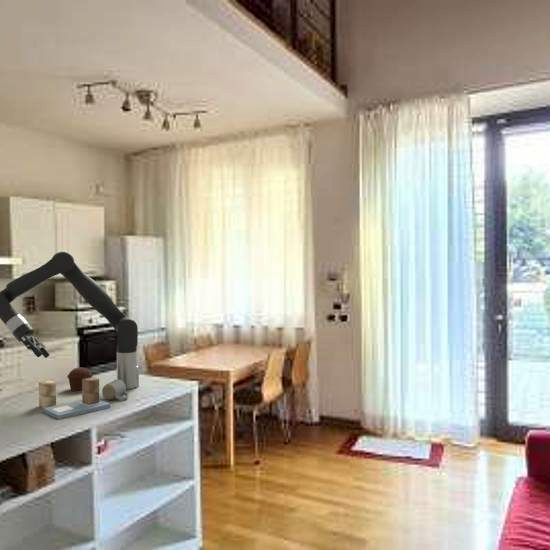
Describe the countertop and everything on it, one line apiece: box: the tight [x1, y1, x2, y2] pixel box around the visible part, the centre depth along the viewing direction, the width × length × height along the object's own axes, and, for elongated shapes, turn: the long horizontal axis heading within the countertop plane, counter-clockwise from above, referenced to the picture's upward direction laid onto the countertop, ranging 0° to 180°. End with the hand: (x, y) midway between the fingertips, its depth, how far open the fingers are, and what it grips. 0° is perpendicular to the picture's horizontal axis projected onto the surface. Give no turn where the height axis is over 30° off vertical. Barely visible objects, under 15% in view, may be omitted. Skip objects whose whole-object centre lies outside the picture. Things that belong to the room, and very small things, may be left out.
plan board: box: [42, 399, 112, 420], centre depth 219 cm, size 22×14×2 cm, turn 137°
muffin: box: [66, 366, 94, 392], centre depth 252 cm, size 12×11×10 cm
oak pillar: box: [38, 380, 57, 409], centre depth 224 cm, size 5×5×10 cm
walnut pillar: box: [81, 376, 100, 405], centre depth 223 cm, size 5×5×10 cm
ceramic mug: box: [101, 378, 129, 401], centre depth 236 cm, size 11×8×8 cm
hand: (44, 356), depth 226 cm, fingers open, 8 cm apart
